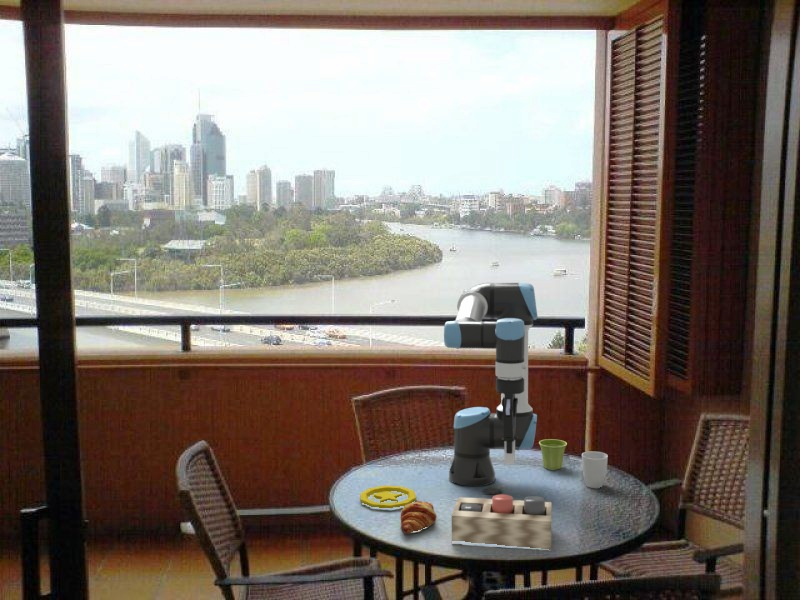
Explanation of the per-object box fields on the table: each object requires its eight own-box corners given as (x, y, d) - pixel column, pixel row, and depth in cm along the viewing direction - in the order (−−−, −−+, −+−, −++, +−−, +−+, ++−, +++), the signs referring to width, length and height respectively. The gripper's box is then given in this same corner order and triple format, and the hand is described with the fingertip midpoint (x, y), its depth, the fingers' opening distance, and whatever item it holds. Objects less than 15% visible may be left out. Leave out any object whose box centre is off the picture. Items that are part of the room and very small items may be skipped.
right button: (523, 521, 218) (523, 502, 218) (524, 513, 224) (524, 495, 223) (544, 522, 217) (544, 504, 217) (544, 514, 223) (545, 496, 222)
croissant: (420, 521, 244) (408, 496, 245) (449, 509, 241) (437, 484, 241) (397, 548, 224) (384, 521, 225) (428, 535, 221) (414, 508, 221)
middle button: (491, 519, 220) (491, 501, 219) (493, 511, 225) (493, 494, 225) (512, 520, 219) (512, 502, 218) (513, 512, 224) (513, 495, 224)
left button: (460, 528, 222) (459, 510, 221) (462, 520, 227) (462, 502, 227) (480, 529, 221) (480, 511, 220) (482, 521, 226) (482, 504, 226)
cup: (605, 481, 266) (605, 451, 265) (609, 490, 258) (609, 459, 257) (579, 481, 267) (580, 451, 266) (582, 489, 259) (583, 458, 258)
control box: (451, 544, 218) (451, 515, 217) (457, 524, 232) (457, 497, 231) (550, 551, 214) (551, 521, 213) (551, 530, 227) (551, 502, 226)
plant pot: (538, 462, 286) (538, 438, 285) (565, 463, 285) (566, 439, 284) (539, 471, 277) (539, 446, 276) (567, 472, 276) (567, 447, 275)
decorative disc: (410, 513, 242) (410, 506, 242) (353, 509, 246) (352, 502, 246) (421, 493, 258) (421, 487, 258) (367, 490, 262) (367, 484, 262)
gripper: (522, 382, 210) (521, 472, 213) (526, 372, 223) (525, 457, 225) (492, 381, 212) (492, 470, 214) (498, 372, 224) (498, 456, 227)
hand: (509, 463), depth 220 cm, fingers closed
